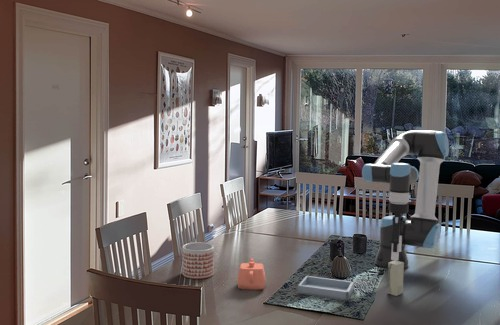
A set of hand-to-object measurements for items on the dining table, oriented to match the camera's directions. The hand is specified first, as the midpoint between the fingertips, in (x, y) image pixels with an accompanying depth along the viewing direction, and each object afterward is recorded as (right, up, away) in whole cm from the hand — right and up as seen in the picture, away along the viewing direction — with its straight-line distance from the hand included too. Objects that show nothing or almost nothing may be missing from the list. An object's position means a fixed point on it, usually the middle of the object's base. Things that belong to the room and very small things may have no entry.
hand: (396, 255), depth 202 cm
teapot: (-57, -14, +8) cm, 60 cm away
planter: (-81, -13, +23) cm, 85 cm away
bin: (-27, -15, +3) cm, 31 cm away
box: (0, -16, +2) cm, 16 cm away
